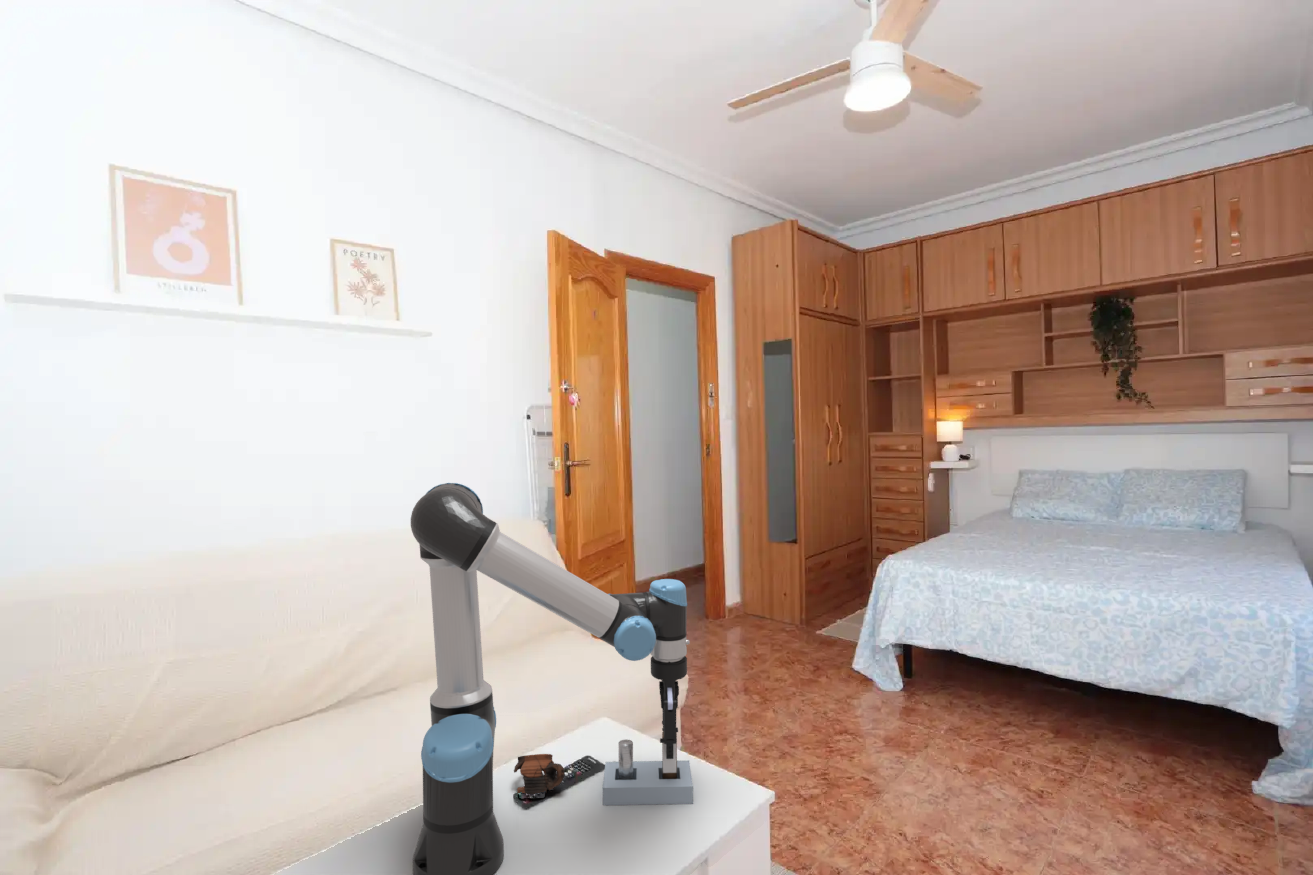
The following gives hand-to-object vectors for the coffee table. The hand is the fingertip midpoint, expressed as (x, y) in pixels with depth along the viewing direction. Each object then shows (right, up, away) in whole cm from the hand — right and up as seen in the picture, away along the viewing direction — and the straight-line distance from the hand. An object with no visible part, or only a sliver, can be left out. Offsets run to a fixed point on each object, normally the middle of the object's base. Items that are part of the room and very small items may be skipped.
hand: (669, 768), depth 135 cm
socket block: (-5, -5, 0) cm, 6 cm away
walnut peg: (0, -3, 0) cm, 3 cm away
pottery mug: (-27, -5, +1) cm, 28 cm away
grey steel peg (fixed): (-9, -5, 0) cm, 10 cm away
